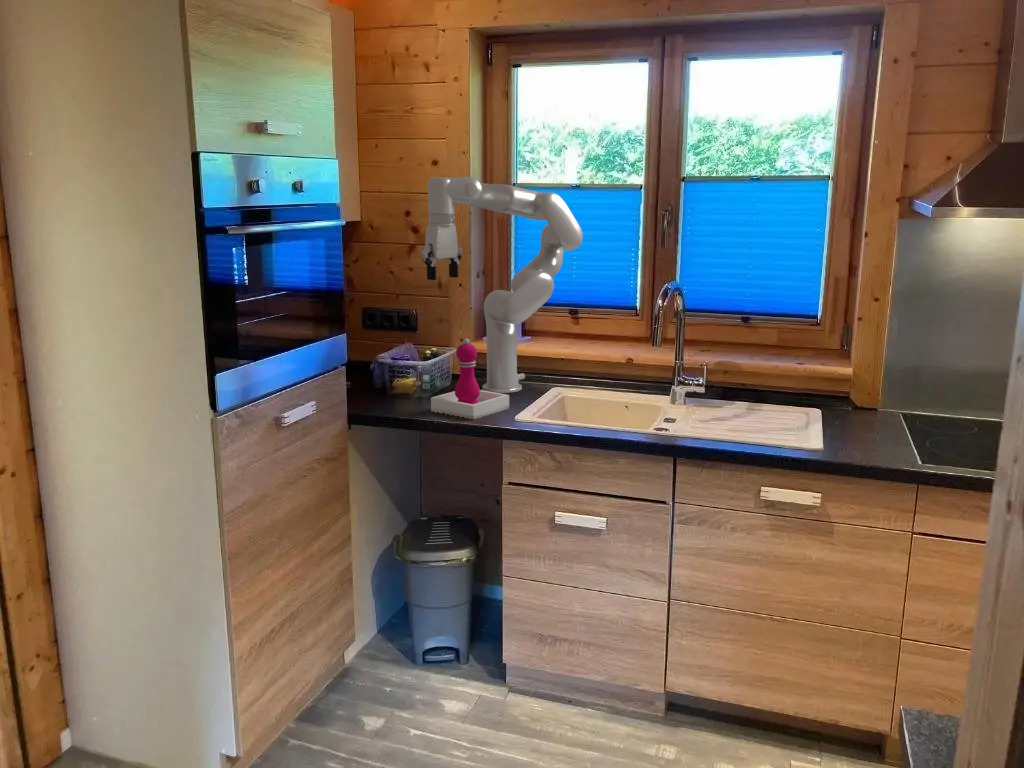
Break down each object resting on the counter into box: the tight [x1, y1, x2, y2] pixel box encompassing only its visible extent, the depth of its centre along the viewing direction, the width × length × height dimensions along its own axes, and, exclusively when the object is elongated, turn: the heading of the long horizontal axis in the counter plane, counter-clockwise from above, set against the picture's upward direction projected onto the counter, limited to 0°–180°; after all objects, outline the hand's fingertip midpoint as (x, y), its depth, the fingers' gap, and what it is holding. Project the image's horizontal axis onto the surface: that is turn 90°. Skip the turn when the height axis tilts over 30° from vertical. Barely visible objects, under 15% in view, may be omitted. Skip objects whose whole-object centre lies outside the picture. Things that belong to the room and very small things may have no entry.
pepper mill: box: [454, 338, 481, 404], centre depth 238 cm, size 7×7×20 cm
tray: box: [430, 389, 510, 421], centre depth 241 cm, size 16×16×4 cm
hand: (442, 278), depth 250 cm, fingers open, 9 cm apart
